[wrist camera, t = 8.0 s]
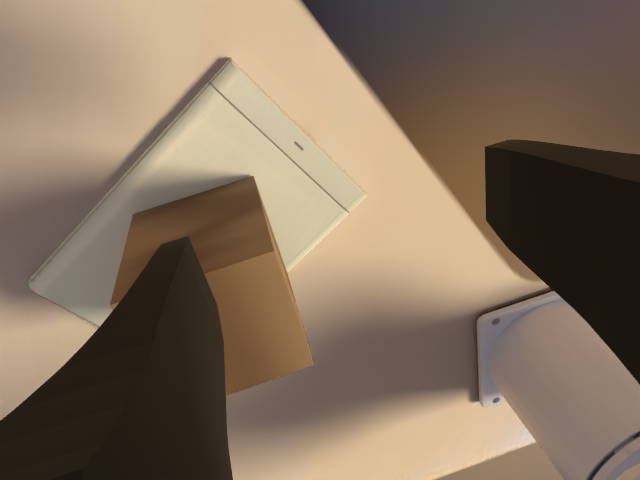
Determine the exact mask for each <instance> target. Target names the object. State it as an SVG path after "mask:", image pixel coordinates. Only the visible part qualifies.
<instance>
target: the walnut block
mask: <svg viewBox="0 0 640 480" xmlns="http://www.w3.org/2000/svg"><path fill="white" fill-rule="evenodd" d="M187 236H188V237H189V239H190V241H191V244H192V246H193V248H194V251H195V253H196V256H197V258H198V260H199V263H200V265H201V267H202V270H203V272H204V275H205V277H206V279H207V282H208V284H209V286H210V289H211V291H212V294H213V296H214V298H215V301H216V303H217V306H218V311H219V317H220V322H221V328H222V334H223V340H224V360H225V391H226V396H227V395H229V394H232V393H235V392H238V391H241V390H244V389H247V388H249V387H252V386H255V385H258V384H261V383H264V382H267V381H269V380H272V379H275V378H278V377H281V376H284V375H287V374H289V373H292V372H295V371H298V370H301V369H304V368H307V367H309V366H312V365H314V361H313V358H312V355H311V351H310V348H309V345H308V341H307V338H306V335H305V331H304V328H303V325H302V321H301V318H300V315H299V311H298V308H297V305H296V301H295V298H294V294H293V291H292V288H291V284H290V281H289V278H288V274H287V271H286V268H285V265H284V263H283V260H282V257H281V254H280V251H279V248H278V245H277V242H276V239H275V237H274V234H273V231H272V228H271V225H270V222H269V219H268V216H267V213H266V210H265V208H264V205H263V202H262V199H261V196H260V193H259V190H258V187H257V184H256V182H255V179H254V176H251V177H248V178H245V179H242V180H238V181H235V182H232V183H229V184H226V185H223V186H220V187H217V188H213V189H210V190H207V191H204V192H201V193H198V194H195V195H191V196H188V197H185V198H182V199H179V200H176V201H173V202H169V203H166V204H163V205H160V206H157V207H154V208H151V209H147V210H144V211H141V212H138V213H135V214H133V216H132V220H131V224H130V228H129V231H128V235H127V239H126V243H125V247H124V251H123V255H122V259H121V263H120V267H119V271H118V275H117V279H116V283H115V287H114V291H113V294H112V298H111V302H110V306H111V308H112V310H114V308H115V307H116V306H117V305H118V303H119V302H120V301H121V300H122V298H123V297H124V296H125V295H126V293H127V292H128V290H129V289H130V288H131V286H132V285H133V283H134V282H135V280H136V279H137V278H138V276H139V275H140V273H141V272H142V271H143V269H144V268H145V266H146V265H147V263H148V262H149V260H150V259H151V257H152V256H153V255H154V253H155V252H156V250H157V249H158V248H159V247H160V245H161V244H164V243H167V242H170V241H174V240H177V239H180V238H183V237H187Z"/></svg>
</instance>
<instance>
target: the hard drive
mask: <svg viewBox="0 0 640 480" xmlns="http://www.w3.org/2000/svg"><path fill="white" fill-rule="evenodd" d="M251 176H254V179H255V182H256V184H257V187H258V190H259V193H260V196H261V199H262V202H263V205H264V208H265V210H266V213H267V216H268V219H269V222H270V225H271V228H272V231H273V234H274V237H275V239H276V242H277V245H278V248H279V251H280V254H281V257H282V260H283V263H284V265H285V268H286V271H287V272H288V271H289V270H290V269H292V268H293V267H294V266H295V265H296V264H297V263H298V262H299V261H300V260H301V259H302V258H303V257H304V256H305V255H306V254H307V253H308V252H309V251H311V250H312V249H313V248H314V247H315V246H316V245H317V244H318V243H319V242H320V241H321V240H322V239H323V238H324V237H325V236H326V235H327V234H328V233H329V232H330V231H331V230H332V229H333V228H334V227H336V226H337V225H338V224H339V223H340V222H341V221H342V220H343V219H344V218H345V217H346V216H347V215H348V214H349V212H351V211H352V210H353V209H354V208H355V207H356V206H357V205H358V204H359V203H360V202H361V201H362V200H363V199H364V198H365V197H366V196H367V193H366V191H365V190H364V189H363V188H362V187H361V186H360V185H359V184H358V183H357V182H356V181H355V180H354V179H353V178H352V177H351V176H350V175H349V174H348V173H347V172H346V171H345V170H344V169H343V168H342V167H341V166H340V165H339V164H337V163H336V162H335V161H334V160H333V159H332V158H331V157H330V156H329V155H328V154H327V153H326V152H325V151H324V150H323V149H322V148H321V147H320V146H319V145H318V144H317V143H316V142H315V141H314V140H313V139H312V138H311V137H310V136H309V135H308V134H307V133H306V132H305V131H304V130H303V129H302V128H301V127H300V126H299V125H298V124H297V123H296V122H295V121H294V120H293V119H292V118H291V117H290V116H289V115H288V114H287V113H286V112H285V111H284V110H283V109H282V108H281V107H280V106H279V105H278V104H277V103H276V102H275V101H274V100H273V99H272V98H271V97H270V96H269V95H268V94H267V93H266V92H265V91H264V90H263V89H262V88H261V87H260V86H259V85H258V84H257V83H256V82H255V81H254V80H253V79H252V78H251V77H250V76H249V75H248V74H247V73H246V72H245V71H244V70H243V69H242V68H241V67H240V66H239V65H238V64H237V63H236V62H235V61H234V60H233V59H232V58H229V59H228V61H227V62H226V63H225V64H224V65H223V66H222V67H221V68H220V69H219V70H218V71H217V73H216V74H215V75H214V76H213V77H212V78H211V79H210V80H209V81H208V82H207V84H206V85H205V86H204V87H203V88H202V89H201V90H200V91H199V92H198V93H197V94H196V96H195V97H194V98H193V99H192V100H191V101H190V102H189V103H188V104H187V105H186V107H185V108H184V109H183V110H182V111H181V112H180V113H179V114H178V115H177V116H176V117H175V118H174V120H173V121H172V122H171V123H170V124H169V125H168V126H167V127H166V128H165V130H164V131H163V132H162V133H161V134H160V135H159V136H158V137H157V138H156V139H155V141H154V142H153V143H152V144H151V145H150V146H149V147H148V148H147V149H146V150H145V152H144V153H143V154H142V155H141V156H140V157H139V158H138V159H137V160H136V161H135V163H134V164H133V165H132V166H131V167H130V168H129V169H128V170H127V171H126V172H125V174H124V175H123V176H122V177H121V178H120V179H119V180H118V181H117V183H116V184H115V185H114V186H113V187H112V188H111V189H110V190H109V191H108V192H107V194H106V195H105V196H104V197H103V198H102V199H101V200H100V201H99V202H98V203H97V205H96V206H95V207H94V208H93V209H92V210H91V211H90V212H89V213H88V215H87V216H86V217H85V218H84V219H83V220H82V221H81V222H80V223H79V224H78V226H77V227H76V228H75V229H74V230H73V231H72V232H71V233H70V234H69V236H68V237H67V238H66V239H65V240H64V241H63V242H62V243H61V244H60V246H59V247H58V248H57V249H56V250H55V251H54V252H53V253H52V254H51V255H50V257H49V258H48V259H47V260H46V261H45V262H44V263H43V264H42V265H41V267H40V268H39V269H38V270H37V271H36V272H35V273H34V274H33V275H32V276H31V278H30V279H29V281H28V287H29V288H30V289H31V290H33V291H34V292H35V293H37V294H39V295H40V296H42V297H44V298H46V299H48V300H50V301H52V302H53V303H55V304H57V305H59V306H61V307H63V308H65V309H67V310H69V311H71V312H72V313H74V314H76V315H78V316H80V317H82V318H84V319H86V320H88V321H90V322H92V323H94V324H96V325H98V326H101V325H102V324H103V322H104V321H105V320H106V319H107V317H108V316H109V315H110V313H111V312H112V311H113V310H112V308H111V306H110V302H111V298H112V294H113V291H114V287H115V283H116V279H117V275H118V271H119V267H120V263H121V259H122V255H123V251H124V247H125V243H126V239H127V235H128V231H129V228H130V224H131V220H132V216H133V214H135V213H138V212H141V211H144V210H147V209H151V208H154V207H157V206H160V205H163V204H166V203H169V202H173V201H176V200H179V199H182V198H185V197H188V196H191V195H195V194H198V193H201V192H204V191H207V190H210V189H213V188H217V187H220V186H223V185H226V184H229V183H232V182H235V181H238V180H242V179H245V178H248V177H251Z"/></svg>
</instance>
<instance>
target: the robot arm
mask: <svg viewBox="0 0 640 480" xmlns="http://www.w3.org/2000/svg"><path fill="white" fill-rule="evenodd" d="M485 179H486V220H487V222H488V223H489V225H490V226H491V227H492V228H493V230H494V231H495V232H496V234H497V235H498V236H499V237H500V239H501V240H502V241H503V243H504V244H505V245H506V246H507V247H508V249H509V250H510V251H511V252H513V253H514V254H515V255H516V256H517V257H518V258H519V259H520V260H521V261H522V262H523V263H524V264H525V265H526V266H527V267H528V268H530V269H531V270H532V271H533V272H534V273H535V274H536V275H537V276H538V277H539V278H540V279H541V280H543V281H544V282H545V283H546V284H547V285H548V286H549V287H550V288H551V289H552V290H554V291H552V292H549V293H546V294H543V295H540V296H537V297H534V298H531V299H528V300H525V301H522V302H519V303H516V304H513V305H510V306H507V307H504V308H501V309H498V310H495V311H492V312H489V313H486V314H484V315H482V316H480V317H479V319H478V320H477V347H478V377H479V402H480V404H481V405H482V407H484V408H488V407H492V406H494V405H497V404H500V403H503V402H505V401H507V402H508V404H509V405H510V406H511V408H512V409H513V410H514V412H515V413H516V415H517V416H518V417H519V419H520V420H521V421H522V423H523V424H524V425H525V427H526V428H527V430H528V431H529V432H530V434H531V435H532V436H533V438H534V439H535V440H536V442H537V443H538V445H539V446H540V447H541V449H542V450H543V451H544V452H545V454H546V455H547V456H548V458H549V460H550V461H551V462H552V464H553V465H554V466H555V468H556V469H557V470H558V472H559V473H560V475H561V476H562V477H563V478H564V480H640V155H637V154H628V153H619V152H611V151H603V150H596V149H589V148H582V147H575V146H568V145H560V144H553V143H546V142H538V141H528V140H506V141H503V142H500V143H497V144H493V145H490V146H487V147H485ZM0 480H233V477H232V470H231V463H230V456H229V449H228V438H227V423H226V391H225V360H224V340H223V334H222V328H221V322H220V317H219V311H218V306H217V303H216V301H215V298H214V296H213V294H212V291H211V289H210V286H209V284H208V282H207V279H206V277H205V275H204V272H203V270H202V267H201V265H200V263H199V260H198V258H197V256H196V253H195V251H194V248H193V246H192V244H191V241H190V239H189V237H188V236H187V237H183V238H180V239H177V240H174V241H170V242H167V243H164V244H161V245H160V247H159V248H158V249H157V250H156V252H155V253H154V255H153V256H152V257H151V259H150V260H149V262H148V263H147V265H146V266H145V268H144V269H143V271H142V272H141V273H140V275H139V276H138V278H137V279H136V280H135V282H134V283H133V285H132V286H131V288H130V289H129V290H128V292H127V293H126V295H125V296H124V297H123V298H122V300H121V301H120V302H119V303H118V305H117V306H116V307H115V308H114V310H113V311H112V312H111V313H110V315H109V316H108V317H107V319H106V320H105V321H104V322H103V324H102V325H101V326H100V327H99V328H98V330H97V331H96V332H95V333H94V334H93V335H92V336H91V338H90V339H89V340H88V341H87V342H86V343H85V344H84V345H83V346H82V347H81V348H80V349H79V350H78V351H77V352H76V353H75V354H74V355H73V357H72V358H71V359H70V360H69V361H68V362H67V363H66V364H65V365H64V366H63V367H62V368H61V369H59V370H58V371H57V372H56V373H55V374H54V375H53V376H52V377H51V378H50V379H48V380H47V381H46V382H45V383H44V384H43V385H42V386H41V387H39V388H38V389H37V390H36V391H35V392H34V393H33V394H32V395H30V396H29V397H28V398H27V399H26V400H25V401H24V402H23V403H21V404H20V405H19V406H18V407H17V408H16V409H14V410H13V411H12V412H11V413H10V414H8V415H7V416H6V417H4V418H3V419H2V420H1V421H0Z"/></svg>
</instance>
